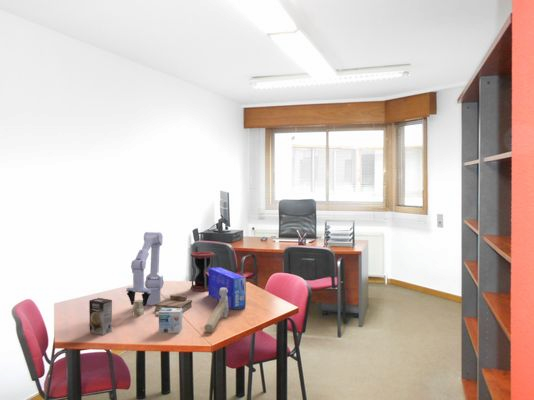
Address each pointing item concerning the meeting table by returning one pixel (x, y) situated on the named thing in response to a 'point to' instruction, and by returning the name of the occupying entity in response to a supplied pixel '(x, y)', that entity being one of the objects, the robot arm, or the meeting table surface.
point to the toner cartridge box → (228, 286)
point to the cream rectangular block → (138, 308)
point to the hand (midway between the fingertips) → (138, 305)
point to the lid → (174, 302)
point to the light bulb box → (170, 320)
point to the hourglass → (201, 270)
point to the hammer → (218, 311)
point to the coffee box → (100, 316)
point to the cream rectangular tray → (168, 307)
